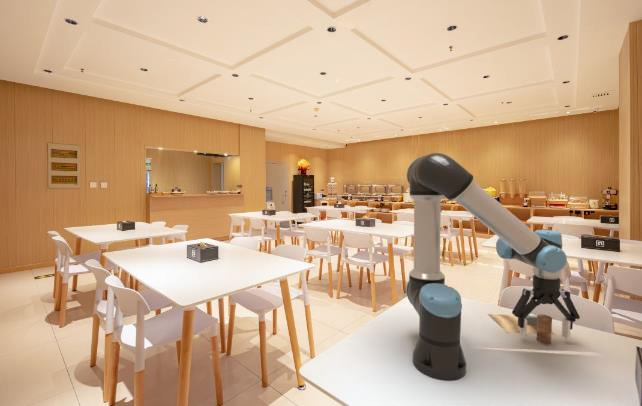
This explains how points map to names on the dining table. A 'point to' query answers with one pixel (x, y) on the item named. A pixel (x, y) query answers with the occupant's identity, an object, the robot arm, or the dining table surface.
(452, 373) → the robot arm
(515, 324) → the board
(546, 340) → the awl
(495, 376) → the dining table surface
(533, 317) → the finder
